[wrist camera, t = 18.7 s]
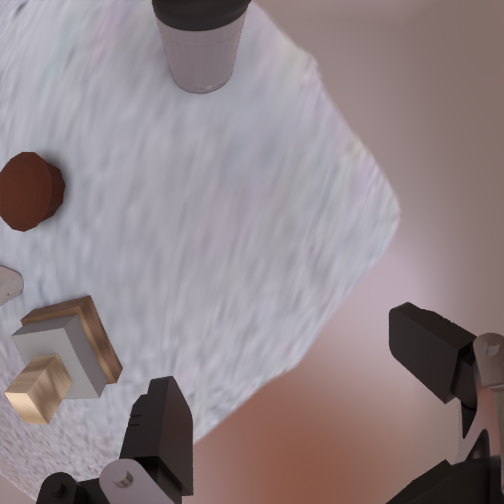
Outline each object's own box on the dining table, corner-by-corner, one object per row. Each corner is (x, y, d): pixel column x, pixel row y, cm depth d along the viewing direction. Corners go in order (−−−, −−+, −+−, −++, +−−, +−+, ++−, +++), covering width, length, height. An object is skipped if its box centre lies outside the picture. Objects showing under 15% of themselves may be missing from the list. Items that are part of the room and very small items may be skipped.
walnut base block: (34, 309, 38) (20, 320, 33) (91, 294, 39) (79, 305, 34) (65, 374, 41) (56, 388, 36) (123, 366, 42) (116, 383, 37)
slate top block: (26, 323, 33) (11, 335, 28) (77, 313, 34) (63, 327, 29) (55, 383, 36) (45, 399, 31) (108, 379, 37) (99, 398, 32)
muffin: (16, 220, 34) (-20, 227, 24) (25, 155, 32) (-11, 149, 22) (68, 230, 36) (34, 241, 26) (79, 159, 34) (46, 150, 25)
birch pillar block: (35, 355, 29) (4, 392, 20) (58, 353, 30) (26, 393, 20) (50, 383, 30) (24, 422, 21) (73, 381, 31) (48, 424, 21)
